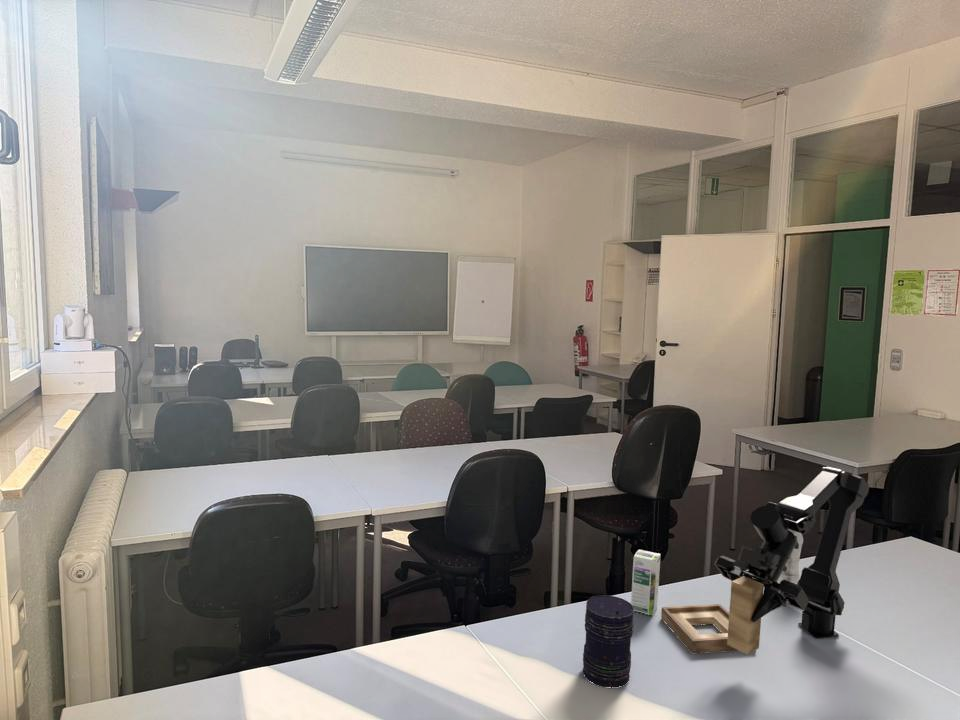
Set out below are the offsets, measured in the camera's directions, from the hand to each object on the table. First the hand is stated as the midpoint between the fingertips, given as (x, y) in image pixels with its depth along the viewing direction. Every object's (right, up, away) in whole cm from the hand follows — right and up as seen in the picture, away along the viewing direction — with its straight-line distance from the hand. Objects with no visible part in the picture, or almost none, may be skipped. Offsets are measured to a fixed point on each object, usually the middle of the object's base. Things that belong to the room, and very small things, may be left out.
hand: (741, 616), depth 133 cm
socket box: (-1, -12, +19) cm, 22 cm away
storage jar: (-28, -13, +1) cm, 31 cm away
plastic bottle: (+30, -10, +44) cm, 55 cm away
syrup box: (-13, -10, +30) cm, 34 cm away
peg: (+1, -7, +1) cm, 7 cm away
